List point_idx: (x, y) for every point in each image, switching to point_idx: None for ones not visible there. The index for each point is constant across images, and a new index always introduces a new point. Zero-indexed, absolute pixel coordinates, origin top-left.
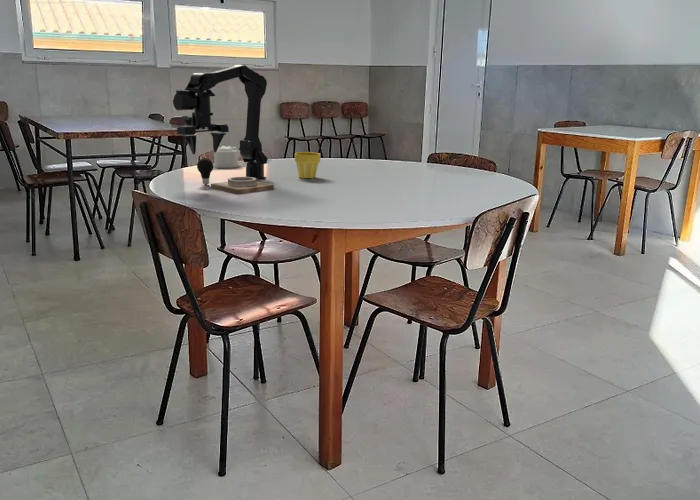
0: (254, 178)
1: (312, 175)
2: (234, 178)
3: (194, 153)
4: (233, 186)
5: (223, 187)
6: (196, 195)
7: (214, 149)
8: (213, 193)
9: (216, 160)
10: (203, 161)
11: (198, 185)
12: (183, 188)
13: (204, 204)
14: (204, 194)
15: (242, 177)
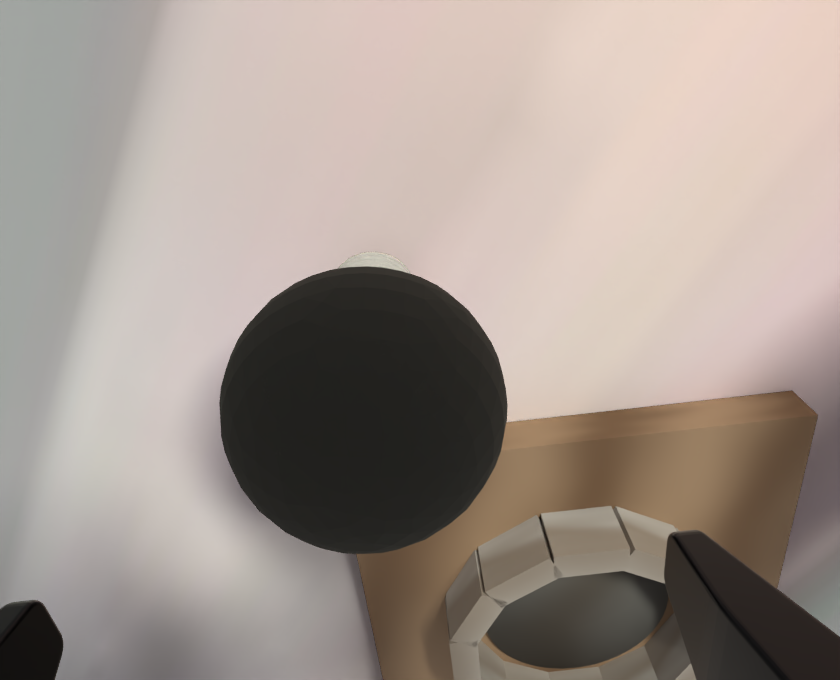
0: (691, 676)
1: None
2: (576, 568)
3: (36, 670)
4: (447, 646)
5: (370, 615)
6: (94, 640)
7: (694, 615)
8: (249, 632)
9: None
10: (291, 532)
11: (291, 243)
12: (64, 330)
13: None
14: (167, 635)
15: (664, 580)
